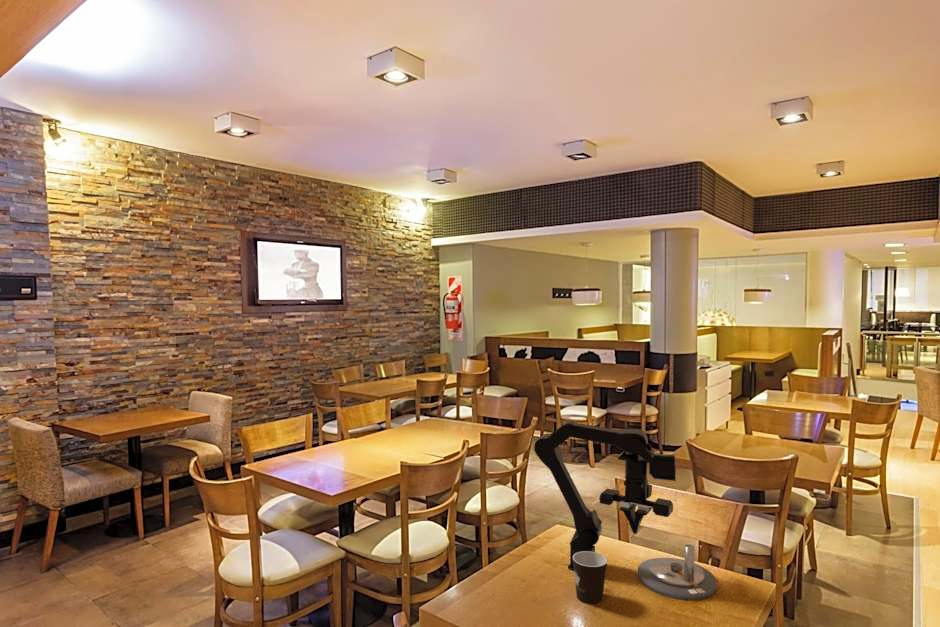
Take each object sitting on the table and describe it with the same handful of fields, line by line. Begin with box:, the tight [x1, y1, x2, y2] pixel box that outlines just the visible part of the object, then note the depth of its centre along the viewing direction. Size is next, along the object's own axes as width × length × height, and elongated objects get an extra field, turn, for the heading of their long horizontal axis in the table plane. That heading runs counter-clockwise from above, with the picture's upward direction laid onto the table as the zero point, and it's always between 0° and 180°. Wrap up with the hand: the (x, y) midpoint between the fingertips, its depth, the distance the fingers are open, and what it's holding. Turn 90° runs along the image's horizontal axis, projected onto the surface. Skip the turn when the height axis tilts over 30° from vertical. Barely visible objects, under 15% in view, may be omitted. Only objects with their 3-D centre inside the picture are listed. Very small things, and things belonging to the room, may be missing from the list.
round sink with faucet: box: [649, 543, 704, 587], centre depth 150 cm, size 16×14×10 cm
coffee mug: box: [573, 551, 608, 605], centre depth 144 cm, size 12×9×10 cm
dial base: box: [637, 557, 718, 601], centre depth 152 cm, size 20×20×2 cm
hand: (635, 533), depth 153 cm, fingers closed
